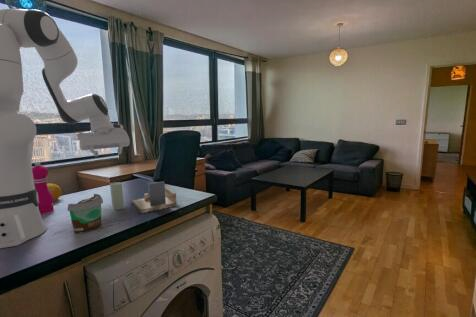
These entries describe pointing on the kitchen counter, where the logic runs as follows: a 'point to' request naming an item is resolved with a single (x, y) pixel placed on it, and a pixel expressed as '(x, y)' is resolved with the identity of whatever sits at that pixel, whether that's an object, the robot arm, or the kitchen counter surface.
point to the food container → (86, 214)
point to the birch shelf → (144, 205)
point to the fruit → (54, 190)
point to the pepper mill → (42, 188)
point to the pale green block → (117, 195)
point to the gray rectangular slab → (157, 193)
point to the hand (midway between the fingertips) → (108, 154)
